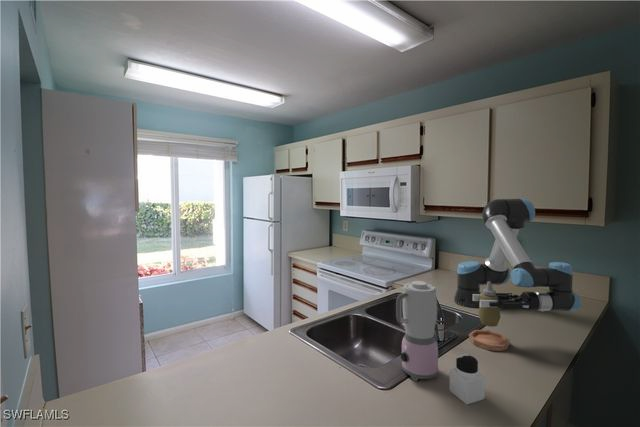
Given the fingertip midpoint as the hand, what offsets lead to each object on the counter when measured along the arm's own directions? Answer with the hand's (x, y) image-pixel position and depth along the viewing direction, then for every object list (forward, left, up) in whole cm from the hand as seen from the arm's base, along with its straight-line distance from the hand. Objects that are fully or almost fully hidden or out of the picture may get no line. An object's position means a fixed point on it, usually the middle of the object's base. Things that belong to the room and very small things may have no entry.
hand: (476, 300), depth 125 cm
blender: (+24, -30, -18) cm, 42 cm away
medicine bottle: (+35, -17, -18) cm, 43 cm away
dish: (0, +5, -18) cm, 19 cm away
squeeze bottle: (0, +5, -10) cm, 11 cm away
